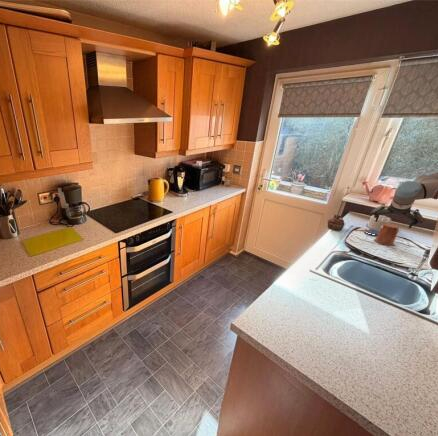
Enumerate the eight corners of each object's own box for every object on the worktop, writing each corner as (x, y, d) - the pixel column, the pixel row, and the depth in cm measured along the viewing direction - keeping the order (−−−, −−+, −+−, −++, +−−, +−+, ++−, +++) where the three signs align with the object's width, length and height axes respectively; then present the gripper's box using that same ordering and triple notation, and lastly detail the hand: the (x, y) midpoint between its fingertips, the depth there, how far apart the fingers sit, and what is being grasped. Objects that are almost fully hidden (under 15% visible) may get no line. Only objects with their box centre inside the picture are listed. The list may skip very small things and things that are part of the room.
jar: (396, 244, 141) (403, 227, 137) (387, 246, 139) (394, 228, 135) (381, 238, 148) (387, 222, 144) (372, 240, 146) (378, 223, 142)
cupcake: (344, 232, 158) (349, 218, 154) (327, 230, 162) (331, 216, 158) (340, 227, 166) (345, 214, 162) (324, 225, 170) (328, 212, 166)
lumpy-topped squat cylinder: (387, 227, 165) (392, 216, 162) (387, 233, 156) (392, 221, 153) (368, 223, 171) (372, 212, 168) (367, 228, 163) (371, 217, 159)
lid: (367, 230, 160) (368, 228, 159) (382, 235, 153) (383, 232, 153) (361, 232, 157) (362, 230, 156) (376, 237, 150) (377, 235, 149)
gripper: (366, 204, 126) (362, 222, 140) (437, 216, 108) (423, 235, 123) (371, 193, 127) (366, 212, 142) (441, 202, 110) (427, 223, 124)
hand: (392, 222), depth 132 cm, fingers open, 13 cm apart
